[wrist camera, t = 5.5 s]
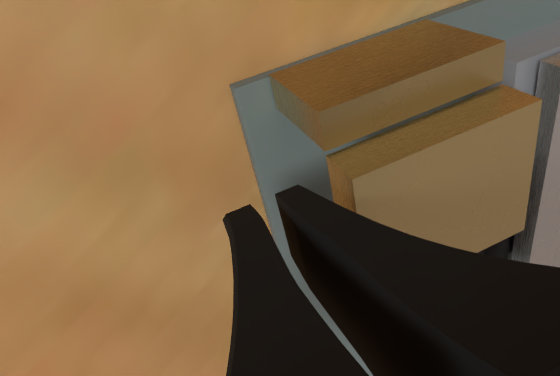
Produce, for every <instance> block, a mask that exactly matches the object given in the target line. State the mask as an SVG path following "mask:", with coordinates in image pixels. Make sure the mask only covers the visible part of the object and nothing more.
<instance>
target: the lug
mask: <svg viewBox="0 0 560 376" xmlns="http://www.w3.org/2000/svg"><path fill="white" fill-rule="evenodd" d="M505 46H506V41H504V40H500V39H497V38H493V37H489V36H486V35H482V34H478V33H475V32H471V31H467V30H464V29H460V28H457V27H453V26H449V25H446V24H442V23H438V22H435V21H431V20H427V19H425V20H422V21H419V22H416V23H413V24H411V25H408V26H405V27H402V28H399V29H396V30H394V31H391V32H388V33H385V34H382V35H379V36H376V37H374V38H371V39H368V40H365V41H362V42H359V43H357V44H354V45H351V46H348V47H345V48H342V49H340V50H337V51H334V52H331V53H328V54H325V55H323V56H320V57H317V58H314V59H311V60H308V61H306V62H303V63H300V64H297V65H294V66H291V67H288V68H286V69H283V70H280V71H277V72H274V73H271V74H269V78H270V82H271V87H272V91H273V95H274V100H275V104H276V108H277V109H278V110H279V111H280V112H281V113H282V114H283V115H285V116H286V117H287V118H288V119H289V120H290V121H291V122H292V123H294V124H295V125H296V126H297V127H298V128H299V129H300V130H301V131H302V132H304V133H305V134H306V135H307V136H308V137H309V138H310V139H311V140H312V141H314V142H315V143H316V144H317V145H318V146H319V147H320V148H321V149H322V150H324V151H325V152H326V151H328V150H331V149H333V148H336V147H338V146H341V145H343V144H346V143H348V142H351V141H353V140H356V139H358V138H361V137H363V136H366V135H368V134H371V133H373V132H376V131H378V130H381V129H383V128H386V127H388V126H391V125H393V124H396V123H398V122H401V121H403V120H406V119H408V118H411V117H413V116H416V115H418V114H421V113H423V112H426V111H428V110H430V109H433V108H435V107H438V106H440V105H443V104H445V103H448V102H450V101H453V100H455V99H458V98H460V97H463V96H465V95H468V94H470V93H473V92H475V91H478V90H480V89H483V88H485V87H488V86H490V85H493V84H495V83H498V82H500V81H503V70H504V58H505ZM541 106H542V99H540V98H538V97H535V96H532V95H530V94H527V93H524V92H522V91H519V90H516V89H514V88H511V87H508V86H506V85H503V84H502V85H499V86H497V87H494V88H492V89H489V90H487V91H484V92H482V93H479V94H477V95H474V96H472V97H469V98H467V99H465V100H462V101H460V102H457V103H455V104H452V105H450V106H447V107H445V108H442V109H440V110H437V111H435V112H432V113H430V114H427V115H425V116H422V117H420V118H417V119H415V120H413V121H410V122H408V123H405V124H403V125H400V126H398V127H395V128H393V129H390V130H388V131H385V132H383V133H380V134H378V135H375V136H373V137H370V138H368V139H366V140H363V141H361V142H358V143H356V144H353V145H351V146H348V147H346V148H343V149H341V150H338V151H336V152H333V153H331V154H328V155H326V160H327V166H328V172H329V178H330V183H331V189H332V195H333V201H334V203H336V204H338V205H340V206H342V207H344V208H346V209H349V210H351V211H353V212H355V213H357V214H360V215H362V216H364V217H366V218H369V219H371V220H373V221H375V222H378V223H380V224H383V225H386V226H388V227H391V228H394V229H396V230H399V231H401V232H404V233H407V234H410V235H413V236H416V237H419V238H422V239H426V240H429V241H433V242H436V243H439V244H443V245H446V246H450V247H454V248H458V249H462V250H466V251H470V252H475V253H478V252H480V251H482V250H484V249H486V248H488V247H490V246H492V245H494V244H496V243H498V242H500V241H502V240H504V239H506V238H508V237H510V236H512V235H514V234H516V233H519V232H521V231H523V230H524V228H525V220H526V213H527V206H528V199H529V192H530V185H531V178H532V170H533V163H534V156H535V149H536V142H537V135H538V128H539V120H540V113H541Z"/></svg>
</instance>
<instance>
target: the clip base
mask: <svg viewBox="0 0 560 376" xmlns="http://www.w3.org/2000/svg"><path fill="white" fill-rule="evenodd" d="M425 19H427V20H431V21H435V22H438V23H442V24H446V25H449V26H453V27H457V28H460V29H464V30H467V31H471V32H475V33H478V34H482V35H486V36H489V37H493V38H497V39H500V40H504V41H506V46H505V58H504V70H503V81H500V82H498V83H495V84H493V85H490V86H488V87H485V88H483V89H480V90H478V91H475V92H473V93H470V94H468V95H465V96H463V97H460V98H458V99H455V100H453V101H450V102H448V103H445V104H443V105H440V106H438V107H435V108H433V109H430V110H428V111H426V112H423V113H421V114H418V115H416V116H413V117H411V118H408V119H406V120H403V121H401V122H398V123H396V124H393V125H391V126H388V127H386V128H383V129H381V130H378V131H376V132H373V133H371V134H368V135H366V136H363V137H361V138H358V139H356V140H353V141H351V142H348V143H346V144H343V145H341V146H338V147H336V148H333V149H331V150H328V151H326V152H325V151H324V150H322V149H321V148H320V147H319V146H318V145H317V144H316V143H315V142H314V141H312V140H311V139H310V138H309V137H308V136H307V135H306V134H305V133H304V132H302V131H301V130H300V129H299V128H298V127H297V126H296V125H295V124H294V123H292V122H291V121H290V120H289V119H288V118H287V117H286V116H285V115H283V114H282V113H281V112H280V111H279V110H278V109H277V108H276V104H275V100H274V95H273V91H272V87H271V82H270V78H269V74H271V73H274V72H277V71H280V70H283V69H286V68H288V67H291V66H294V65H297V64H300V63H303V62H306V61H308V60H311V59H314V58H317V57H320V56H323V55H325V54H328V53H331V52H334V51H337V50H340V49H342V48H345V47H348V46H351V45H354V44H357V43H359V42H362V41H365V40H368V39H371V38H374V37H376V36H379V35H382V34H385V33H388V32H391V31H394V30H396V29H399V28H402V27H405V26H408V25H411V24H413V23H416V22H419V21H422V20H425ZM558 53H560V0H470V1H467V2H464V3H461V4H458V5H456V6H453V7H450V8H447V9H444V10H441V11H438V12H436V13H433V14H430V15H427V16H424V17H421V18H418V19H416V20H413V21H410V22H407V23H404V24H401V25H399V26H396V27H393V28H390V29H387V30H384V31H381V32H379V33H376V34H373V35H370V36H367V37H364V38H361V39H359V40H356V41H353V42H350V43H347V44H344V45H341V46H339V47H336V48H333V49H330V50H327V51H324V52H322V53H319V54H316V55H313V56H310V57H307V58H304V59H302V60H299V61H296V62H293V63H290V64H287V65H284V66H282V67H279V68H276V69H273V70H270V71H267V72H264V73H262V74H259V75H256V76H253V77H250V78H247V79H244V80H242V81H239V82H236V83H233V84H230V88H231V91H232V95H233V98H234V102H235V105H236V109H237V113H238V116H239V120H240V123H241V127H242V130H243V134H244V137H245V141H246V144H247V148H248V151H249V155H250V158H251V162H252V165H253V169H254V172H255V176H256V179H257V183H258V186H259V190H260V193H261V197H262V201H263V204H264V208H265V211H266V215H267V218H268V222H269V225H270V229H271V232H272V236H273V239H274V241H275V243H276V245H277V247H278V249H279V251H280V253H281V255H282V257H283V259H284V261H285V263H286V265H287V267H288V269H289V271H290V273H291V274H292V276H293V278H294V279H295V281H296V283H297V284H298V286H299V287H300V289H301V290H302V291H303V293H304V294H305V296H306V297H307V298H308V300H309V301H310V302H311V304H312V305H313V306H314V308H315V309H316V310H317V312H318V313H319V314H320V316H321V317H322V318H323V320H324V321H325V322H326V323H327V325H328V326H329V327H330V329H331V330H332V331H333V332H334V334H335V335H336V336H337V338H338V339H339V340H340V341H341V343H342V344H343V345H344V346H345V347H346V349H347V350H348V351H349V352H350V353H351V355H352V356H353V357H354V358H355V359H356V361H357V362H358V363H359V364H360V365H361V366H362V368H363V369H364V370H365V371H366V372H367V374H368V375H369V376H373V375H372V373H371V372H370V370H369V369H368V367H367V366H366V364H365V363H364V361H363V360H362V359H361V357H360V356H359V355H358V353H357V352H356V350H355V349H354V348H353V346H352V345H351V344H350V342H349V341H348V340H347V338H346V337H345V336H344V334H343V333H342V332H341V330H340V329H339V328H338V326H337V325H336V324H335V322H334V321H333V320H332V318H331V317H330V316H329V314H328V313H327V312H326V310H325V309H324V308H323V306H322V305H321V304H320V302H319V301H318V300H317V298H316V297H315V295H314V294H313V293H312V291H311V290H310V288H309V287H308V285H307V283H306V282H305V280H304V278H303V276H302V275H301V273H300V271H299V269H298V268H297V266H296V264H295V262H294V260H293V259H292V257H291V254H290V250H289V246H288V242H287V239H286V235H285V231H284V227H283V224H282V220H281V216H280V212H279V208H278V205H277V201H276V197H275V194H276V193H278V192H281V191H283V190H285V189H288V188H290V187H293V186H295V185H297V184H298V185H300V186H302V187H304V188H306V189H308V190H310V191H312V192H314V193H316V194H318V195H320V196H322V197H324V198H326V199H328V200H330V201H332V202H334V201H333V195H332V189H331V183H330V178H329V172H328V166H327V160H326V155H328V154H331V153H333V152H336V151H338V150H341V149H343V148H346V147H348V146H351V145H353V144H356V143H358V142H361V141H363V140H366V139H368V138H370V137H373V136H375V135H378V134H380V133H383V132H385V131H388V130H390V129H393V128H395V127H398V126H400V125H403V124H405V123H408V122H410V121H413V120H415V119H417V118H420V117H422V116H425V115H427V114H430V113H432V112H435V111H437V110H440V109H442V108H445V107H447V106H450V105H452V104H455V103H457V102H460V101H462V100H465V99H467V98H469V97H472V96H474V95H477V94H479V93H482V92H484V91H487V90H489V89H492V88H494V87H497V86H499V85H502V84H503V85H506V86H508V87H511V88H514V89H516V90H519V91H522V92H524V93H527V94H530V95H532V96H535V94H536V87H537V80H538V73H539V67H540V60H543V59H546V58H548V57H551V56H553V55H556V54H558ZM514 236H515V234H514V235H512V236H510V237H508V238H506V239H504V240H502V241H500V242H498V243H496V244H494V245H492V246H490V247H488V248H486V249H484V250H482V251H480V252H478V253H479V254H484V255H489V256H493V257H498V258H503V259H509V260H511V257H512V250H513V243H514Z"/></svg>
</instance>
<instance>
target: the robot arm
mask: <svg viewBox="0 0 560 376" xmlns="http://www.w3.org/2000/svg"><path fill="white" fill-rule="evenodd" d="M275 197H276V201H277V205H278V208H279V212H280V216H281V220H282V224H283V227H284V231H285V235H286V239H287V242H288V246H289V250H290V254H291V257H292V259H293V260H294V262H295V264H296V266H297V268H298V269H299V271H300V273H301V275H302V276H303V278H304V280H305V282H306V283H307V285H308V287H309V288H310V290H311V291H312V293H313V294H314V295H315V297H316V298H317V300H318V301H319V302H320V304H321V305H322V306H323V308H324V309H325V310H326V312H327V313H328V314H329V316H330V317H331V318H332V320H333V321H334V322H335V324H336V325H337V326H338V328H339V329H340V330H341V332H342V333H343V334H344V336H345V337H346V338H347V340H348V341H349V342H350V344H351V345H352V346H353V348H354V349H355V350H356V352H357V353H358V355H359V356H360V357H361V359H362V360H363V361H364V363H365V364H366V366H367V367H368V369H369V370H370V372H371V373H372V375H373V376H560V267H554V266H547V265H540V264H533V263H526V262H520V261H515V260H509V259H503V258H498V257H493V256H489V255H484V254H479V253H475V252H470V251H466V250H462V249H458V248H454V247H450V246H446V245H443V244H439V243H436V242H433V241H429V240H426V239H422V238H419V237H416V236H413V235H410V234H407V233H404V232H401V231H399V230H396V229H394V228H391V227H388V226H386V225H383V224H380V223H378V222H375V221H373V220H371V219H369V218H366V217H364V216H362V215H360V214H357V213H355V212H353V211H351V210H349V209H346V208H344V207H342V206H340V205H338V204H336V203H334V202H332V201H330V200H328V199H326V198H324V197H322V196H320V195H318V194H316V193H314V192H312V191H310V190H308V189H306V188H304V187H302V186H300V185H298V184H297V185H295V186H293V187H290V188H288V189H285V190H283V191H281V192H278V193H276V194H275ZM223 222H224V225H225V228H226V230H227V233H228V236H229V239H230V245H231V252H232V264H233V278H234V294H233V323H232V335H231V345H230V353H229V360H228V367H227V373H226V376H369V375H368V374H367V372H366V371H365V370H364V369H363V368H362V366H361V365H360V364H359V363H358V362H357V361H356V359H355V358H354V357H353V356H352V355H351V353H350V352H349V351H348V350H347V349H346V347H345V346H344V345H343V344H342V343H341V341H340V340H339V339H338V338H337V336H336V335H335V334H334V332H333V331H332V330H331V329H330V327H329V326H328V325H327V323H326V322H325V321H324V320H323V318H322V317H321V316H320V314H319V313H318V312H317V310H316V309H315V308H314V306H313V305H312V304H311V302H310V301H309V300H308V298H307V297H306V296H305V294H304V293H303V291H302V290H301V289H300V287H299V286H298V284H297V283H296V281H295V279H294V278H293V276H292V274H291V273H290V271H289V269H288V267H287V265H286V263H285V261H284V259H283V257H282V255H281V253H280V251H279V249H278V247H277V245H276V243H275V241H274V239H273V238H272V236H271V234H270V232H269V230H268V228H267V226H266V224H265V222H264V220H263V218H262V217H261V216H260V215H259V213H258V212H257V211H256V210H255V209H254V208H253V207H252V206H251V205H250V204H249V205H247V206H244V207H242V208H240V209H237V210H235V211H232V212H230V213H228V214H226V215H225V217H224V219H223Z"/></svg>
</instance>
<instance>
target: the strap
mask: <svg viewBox="0 0 560 376" xmlns="http://www.w3.org/2000/svg"><path fill="white" fill-rule="evenodd" d="M535 97H538V98H540V99H542V106H541V113H540V120H539V128H538V135H537V142H536V149H535V156H534V163H533V170H532V178H531V185H530V192H529V199H528V206H527V213H526V220H525V228H524V230H523V231H521V232H519V233H516V234H515V236H514V243H513V250H512V257H511V260H515V261H520V262H526V263H533V264H540V265H547V266H554V267H560V53H558V54H556V55H553V56H551V57H548V58H546V59H543V60H540V67H539V73H538V80H537V87H536V94H535Z"/></svg>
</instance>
